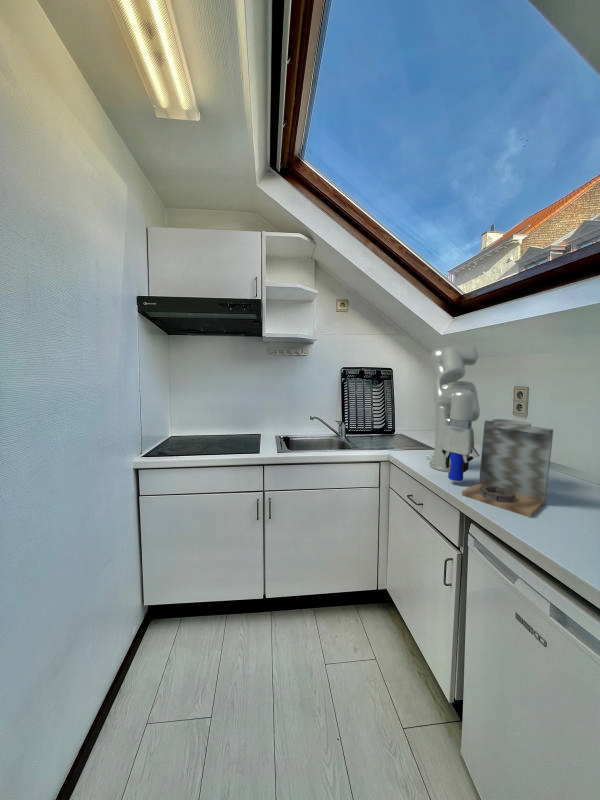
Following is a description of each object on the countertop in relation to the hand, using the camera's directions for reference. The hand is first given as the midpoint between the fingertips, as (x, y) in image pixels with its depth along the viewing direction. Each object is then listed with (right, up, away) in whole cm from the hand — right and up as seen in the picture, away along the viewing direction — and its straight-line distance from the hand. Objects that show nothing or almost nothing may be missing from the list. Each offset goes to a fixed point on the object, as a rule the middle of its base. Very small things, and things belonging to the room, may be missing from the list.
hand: (456, 468), depth 117 cm
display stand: (+9, -8, -13) cm, 18 cm away
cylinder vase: (+20, -7, +2) cm, 22 cm away
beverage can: (0, -5, +1) cm, 5 cm away
